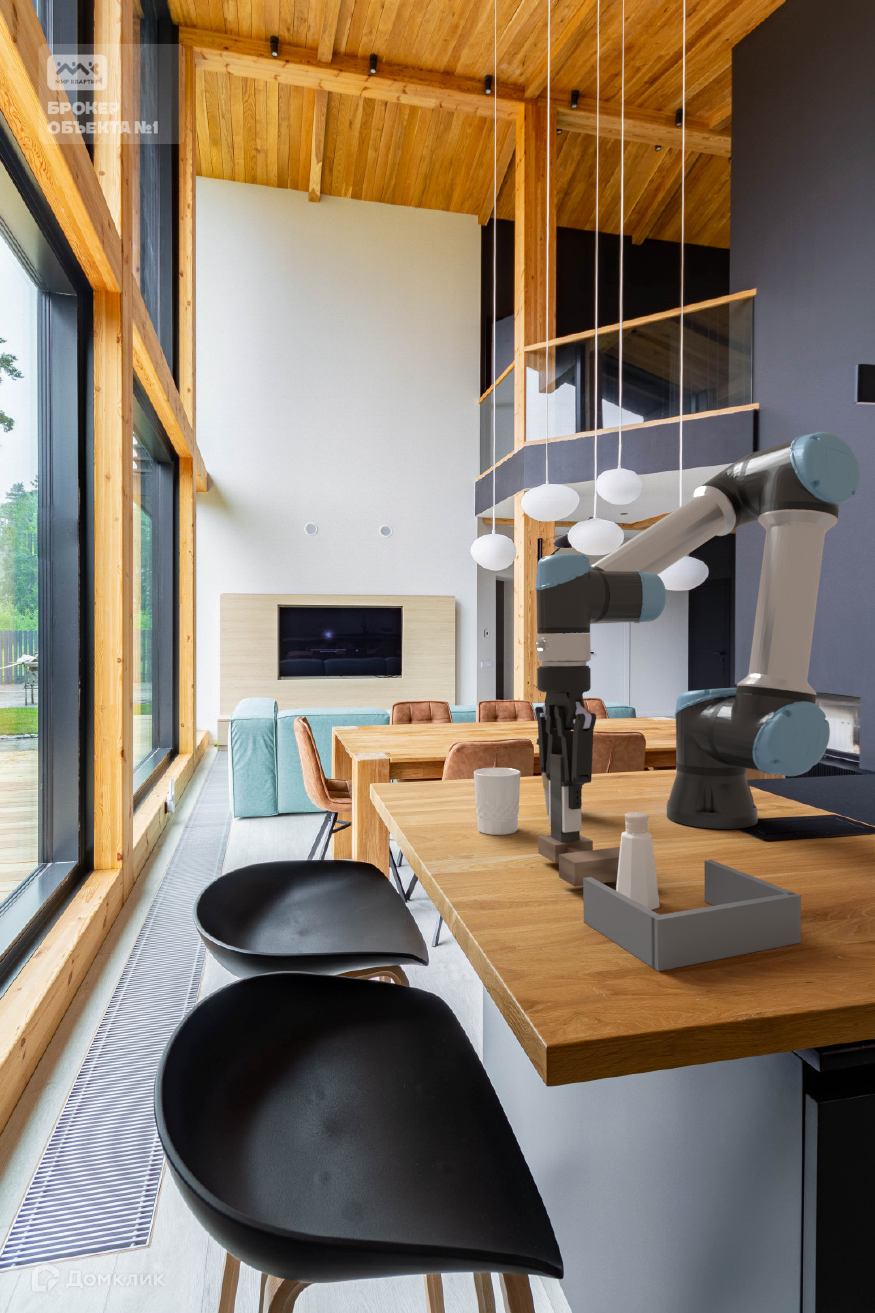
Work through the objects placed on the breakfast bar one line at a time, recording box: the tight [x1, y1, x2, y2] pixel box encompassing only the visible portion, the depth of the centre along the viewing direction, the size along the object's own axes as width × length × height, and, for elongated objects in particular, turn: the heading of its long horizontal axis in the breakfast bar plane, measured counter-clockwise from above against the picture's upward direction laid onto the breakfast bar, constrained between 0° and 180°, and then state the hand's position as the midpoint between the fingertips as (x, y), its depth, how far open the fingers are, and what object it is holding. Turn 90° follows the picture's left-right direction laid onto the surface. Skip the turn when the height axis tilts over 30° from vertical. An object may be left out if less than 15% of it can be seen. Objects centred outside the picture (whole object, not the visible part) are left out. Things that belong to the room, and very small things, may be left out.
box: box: [582, 859, 802, 972], centre depth 80 cm, size 18×14×5 cm
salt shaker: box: [615, 811, 661, 911], centre depth 88 cm, size 5×5×11 cm
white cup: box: [473, 767, 521, 836], centre depth 124 cm, size 8×8×10 cm
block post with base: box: [537, 753, 620, 887], centre depth 100 cm, size 11×14×14 cm
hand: (565, 827), depth 104 cm, fingers closed on block post with base, 3 cm apart
